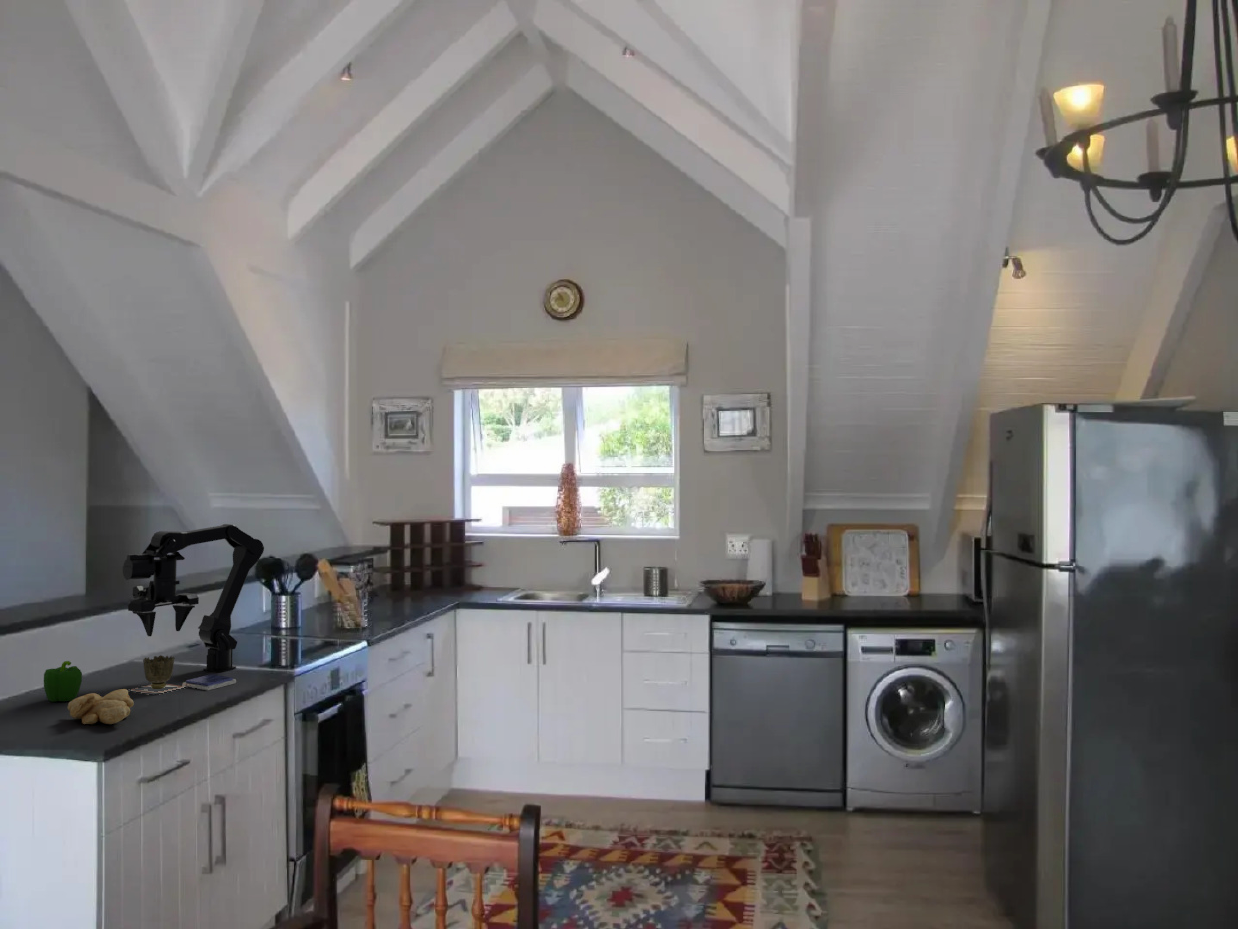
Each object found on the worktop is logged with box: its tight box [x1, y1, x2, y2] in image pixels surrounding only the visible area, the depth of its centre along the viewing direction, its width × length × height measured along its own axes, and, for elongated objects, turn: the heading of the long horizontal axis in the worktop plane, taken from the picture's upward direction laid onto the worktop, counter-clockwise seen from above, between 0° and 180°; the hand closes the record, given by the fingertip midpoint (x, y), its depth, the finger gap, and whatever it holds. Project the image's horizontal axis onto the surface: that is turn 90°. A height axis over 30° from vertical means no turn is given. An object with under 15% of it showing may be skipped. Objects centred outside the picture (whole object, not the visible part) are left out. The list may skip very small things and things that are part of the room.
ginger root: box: [66, 688, 134, 725], centre depth 221 cm, size 16×16×8 cm
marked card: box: [131, 683, 185, 694], centre depth 251 cm, size 10×10×1 cm
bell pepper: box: [43, 660, 83, 703], centre depth 238 cm, size 8×8×10 cm
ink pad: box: [182, 673, 237, 691], centre depth 257 cm, size 10×9×2 cm
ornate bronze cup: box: [142, 654, 176, 689], centre depth 251 cm, size 8×7×8 cm
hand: (163, 633), depth 263 cm, fingers open, 9 cm apart
